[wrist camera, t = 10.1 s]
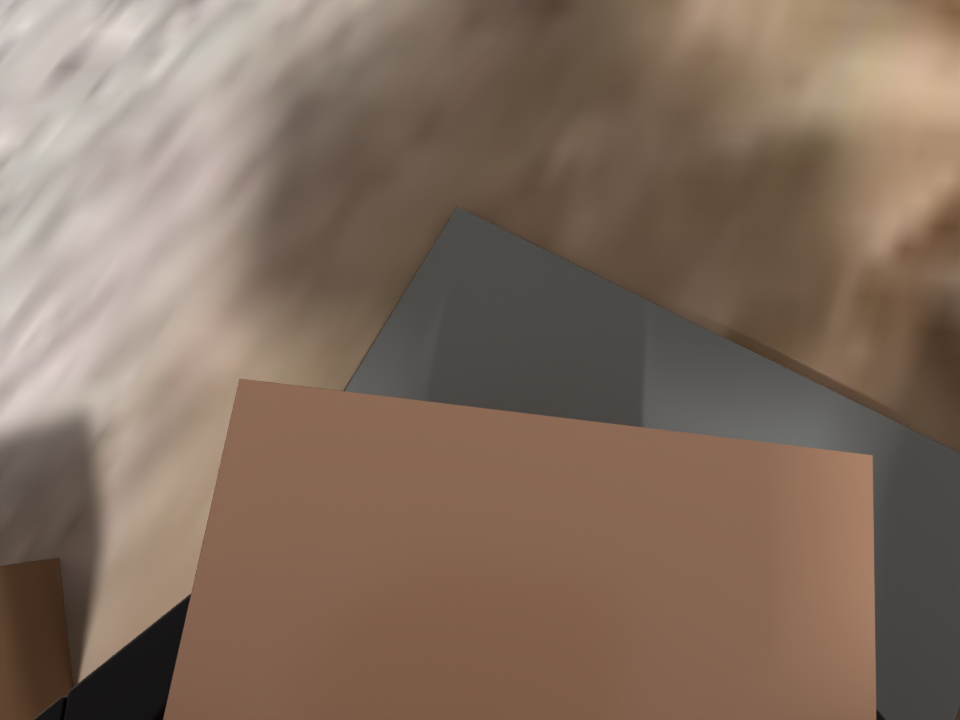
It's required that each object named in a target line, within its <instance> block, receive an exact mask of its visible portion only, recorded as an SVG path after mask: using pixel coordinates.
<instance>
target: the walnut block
mask: <svg viewBox="0 0 960 720" xmlns="http://www.w3.org/2000/svg"><path fill="white" fill-rule="evenodd" d="M72 688H73V682H72V673H71V664H70V655H69V645H68V636H67V627H66V618H65V609H64V600H63V590H62V581H61V572H60V563H59V558H54V559H47V560H40V561H33V562H27V563H20V564H13V565H6V566H0V720H33V719H34V718H35V717H37V716H38V715H39V714H40V713H42V712H43V711H44V710H45V709H47V708H48V707H49V706H50V705H52V704H53V703H54V702H55V701H57V700H58V699H59V698H60V697H62V696H66V697H67V694H68V692H69V691H70V690H71V689H72Z"/></svg>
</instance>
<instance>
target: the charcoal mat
mask: <svg viewBox="0 0 960 720" xmlns="http://www.w3.org/2000/svg"><path fill="white" fill-rule="evenodd" d="M345 391H346V392H354V393H362V394H370V395H379V396H387V397H395V398H403V399H412V400H420V401H428V402H437V403H445V404H453V405H461V406H470V407H478V408H486V409H494V410H503V411H511V412H519V413H528V414H536V415H544V416H552V417H561V418H569V419H577V420H585V421H594V422H602V423H610V424H618V425H627V426H635V427H643V428H652V429H660V430H668V431H676V432H685V433H693V434H701V435H709V436H718V437H726V438H734V439H742V440H751V441H759V442H767V443H776V444H784V445H792V446H800V447H809V448H817V449H825V450H833V451H842V452H850V453H858V454H866V455H873V517H874V588H875V659H876V708H877V710H878V711H879V712H880V713H881V714H882V716H883V717H884V718H885V719H886V720H955V719H956V716H957V714H958V711H959V708H960V453H958V452H956V451H954V450H952V449H950V448H948V447H946V446H944V445H942V444H940V443H938V442H936V441H934V440H932V439H930V438H928V437H926V436H924V435H922V434H920V433H918V432H916V431H914V430H911V429H909V428H907V427H905V426H903V425H901V424H899V423H897V422H895V421H893V420H891V419H889V418H887V417H885V416H883V415H881V414H879V413H877V412H875V411H873V410H871V409H869V408H867V407H865V406H863V405H861V404H859V403H856V402H854V401H852V400H850V399H848V398H846V397H844V396H842V395H840V394H838V393H836V392H834V391H832V390H830V389H828V388H826V387H824V386H822V385H820V384H818V383H816V382H814V381H812V380H810V379H808V378H806V377H803V376H801V375H799V374H797V373H795V372H793V371H791V370H789V369H787V368H785V367H783V366H781V365H779V364H777V363H775V362H773V361H771V360H769V359H767V358H765V357H763V356H761V355H759V354H757V353H755V352H753V351H751V350H748V349H746V348H744V347H742V346H740V345H738V344H736V343H734V342H732V341H730V340H728V339H726V338H724V337H722V336H720V335H718V334H716V333H714V332H712V331H710V330H708V329H706V328H704V327H702V326H700V325H698V324H695V323H693V322H691V321H689V320H687V319H685V318H683V317H681V316H679V315H677V314H675V313H673V312H671V311H669V310H667V309H665V308H663V307H661V306H659V305H657V304H655V303H653V302H651V301H649V300H647V299H645V298H643V297H640V296H638V295H636V294H634V293H632V292H630V291H628V290H626V289H624V288H622V287H620V286H618V285H616V284H614V283H612V282H610V281H608V280H606V279H604V278H602V277H600V276H598V275H596V274H594V273H592V272H590V271H587V270H585V269H583V268H581V267H579V266H577V265H575V264H573V263H571V262H569V261H567V260H565V259H563V258H561V257H559V256H557V255H555V254H553V253H551V252H549V251H547V250H545V249H543V248H541V247H539V246H537V245H535V244H532V243H530V242H528V241H526V240H524V239H522V238H520V237H518V236H516V235H514V234H512V233H510V232H508V231H506V230H504V229H502V228H500V227H498V226H496V225H494V224H492V223H490V222H488V221H486V220H484V219H482V218H479V217H477V216H475V215H473V214H471V213H469V212H467V211H465V210H463V209H461V208H459V207H457V208H456V209H455V211H454V213H453V214H452V216H451V218H450V219H449V221H448V223H447V224H446V226H445V227H444V229H443V231H442V232H441V234H440V236H439V237H438V239H437V241H436V242H435V244H434V246H433V247H432V249H431V250H430V252H429V254H428V255H427V257H426V259H425V260H424V262H423V264H422V265H421V267H420V268H419V270H418V272H417V273H416V275H415V277H414V278H413V280H412V282H411V283H410V285H409V286H408V288H407V290H406V291H405V293H404V295H403V296H402V298H401V300H400V301H399V303H398V304H397V306H396V308H395V309H394V311H393V313H392V314H391V316H390V318H389V319H388V321H387V322H386V324H385V326H384V327H383V329H382V331H381V332H380V334H379V336H378V337H377V339H376V340H375V342H374V344H373V345H372V347H371V349H370V350H369V352H368V354H367V355H366V357H365V358H364V360H363V362H362V363H361V365H360V367H359V368H358V370H357V372H356V373H355V375H354V376H353V378H352V380H351V381H350V383H349V385H348V386H347V388H346V390H345Z"/></svg>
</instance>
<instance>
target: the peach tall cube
mask: <svg viewBox="0 0 960 720" xmlns="http://www.w3.org/2000/svg"><path fill="white" fill-rule="evenodd" d="M163 720H876V659H875V588H874V517H873V455H866V454H858V453H850V452H842V451H833V450H825V449H817V448H809V447H800V446H792V445H784V444H776V443H767V442H759V441H751V440H742V439H734V438H726V437H718V436H709V435H701V434H693V433H685V432H676V431H668V430H660V429H652V428H643V427H635V426H627V425H618V424H610V423H602V422H594V421H585V420H577V419H569V418H561V417H552V416H544V415H536V414H528V413H519V412H511V411H503V410H494V409H486V408H478V407H470V406H461V405H453V404H445V403H437V402H428V401H420V400H412V399H403V398H395V397H387V396H379V395H370V394H362V393H354V392H346V391H337V390H329V389H321V388H313V387H304V386H296V385H288V384H279V383H271V382H263V381H255V380H246V379H239V383H238V387H237V392H236V396H235V401H234V405H233V410H232V414H231V419H230V423H229V428H228V432H227V436H226V441H225V445H224V450H223V454H222V459H221V463H220V468H219V472H218V477H217V481H216V486H215V490H214V495H213V499H212V503H211V508H210V512H209V517H208V521H207V526H206V530H205V535H204V539H203V544H202V548H201V553H200V557H199V562H198V566H197V570H196V575H195V579H194V584H193V588H192V593H191V597H190V602H189V606H188V611H187V615H186V620H185V624H184V629H183V633H182V637H181V642H180V646H179V651H178V655H177V660H176V664H175V669H174V673H173V678H172V682H171V687H170V691H169V696H168V700H167V704H166V709H165V713H164V718H163Z"/></svg>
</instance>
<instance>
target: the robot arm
mask: <svg viewBox="0 0 960 720" xmlns="http://www.w3.org/2000/svg"><path fill="white" fill-rule="evenodd" d="M190 597H191V594H190V595H189V596H187V597H186V598H185V599H184V600H182V601H181V602H180V603H178V604H177V605H176V606H175V607H173V608H172V609H171V610H170V611H168V612H167V613H166V614H165V615H163V616H162V617H161V618H160V619H158V620H157V621H156V622H155V623H153V624H152V625H151V626H150V627H148V628H147V629H146V630H145V631H143V632H142V633H141V634H140V635H138V636H137V637H136V638H135V639H133V640H132V641H131V642H130V643H128V644H127V645H126V646H125V647H123V648H122V649H121V650H120V651H118V652H117V653H116V654H115V655H113V656H112V657H111V658H110V659H108V660H107V661H106V662H105V663H103V664H102V665H101V666H100V667H98V668H97V669H96V670H95V671H93V672H92V673H91V674H90V675H88V676H87V677H86V678H85V679H83V680H82V681H81V682H80V683H78V684H77V685H76V686H75V687H73V688H72V689H71V690H70V691H69V692H68V694H67V697H66V696H62V697H60V698H59V699H58V700H57V701H55V702H54V703H53V704H52V705H50V706H49V707H48V708H47V709H45V710H44V711H43V712H42V713H40V714H39V715H38V716H37V717H35V718H34V719H33V720H163V718H164V713H165V709H166V704H167V700H168V696H169V691H170V687H171V682H172V678H173V673H174V669H175V664H176V660H177V655H178V651H179V646H180V642H181V637H182V633H183V629H184V624H185V620H186V615H187V611H188V606H189V602H190ZM876 720H886V719H885V718H884V717H883V716H882V714H881V713H880V712H879V711H878V710H877V708H876Z"/></svg>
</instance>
